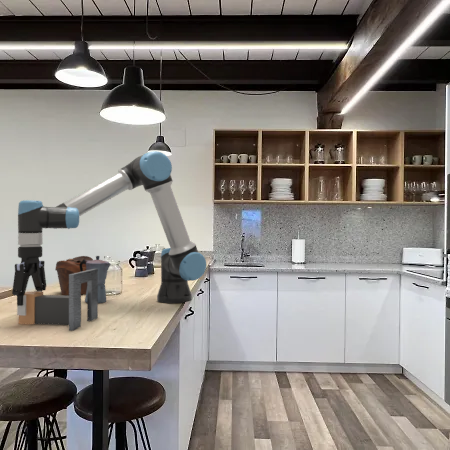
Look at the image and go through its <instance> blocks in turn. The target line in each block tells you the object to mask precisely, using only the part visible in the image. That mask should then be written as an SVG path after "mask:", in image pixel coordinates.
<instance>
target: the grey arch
mask: <svg viewBox="0 0 450 450" xmlns="http://www.w3.org/2000/svg"><path fill="white" fill-rule="evenodd" d="M85 282H87V302H86V306H87V308H86V309H87V310H86V311H87V312H86V313H87V316H86V317H87V319H86V321H87V322H93V321H95V320H97V319H98V318H99V316H98V313H99V310H98V306H99V305H98V304H99V303H98V269H91V270H86V271H82V272H78V273H73V274H69V295H68V296H69V325H68V331H71V332H72V331H76V330H78V329H80V328H82V295H81V283H85Z"/></svg>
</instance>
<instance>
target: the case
mask: <svg viewBox="0 0 450 450" xmlns="http://www.w3.org/2000/svg"><path fill="white" fill-rule="evenodd" d="M83 259H84V260H87V261H92V260H94V259H93V258H92V257H90V256H88V255H81V256H76V257H73V258H68V259H66V260H65V259H64V260H58V261H57V262H56V264H55V271H56V274H57V279H58V284H59V288H60V289H59V290H60V293H61V295H66V296H69V274H73V273H78V272H81V271H80V263H81V262H82V261H83ZM82 267H83V271H86V270H87V269H86V265H85V264H82ZM86 291H87V282H85V283H81V296H82V295H86Z"/></svg>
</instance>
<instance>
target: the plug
mask: <svg viewBox="0 0 450 450" xmlns="http://www.w3.org/2000/svg"><path fill="white" fill-rule="evenodd" d="M25 295H26V315H25V316H24V315H18V325H50V326H53V325H56V326H69V295H62V294H61V295H58V294H57V295H56V294H50V295H49V294H44V291H42V292H34V291H25Z"/></svg>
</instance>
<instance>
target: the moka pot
mask: <svg viewBox="0 0 450 450" xmlns="http://www.w3.org/2000/svg"><path fill="white" fill-rule="evenodd" d="M82 264H85V265H86V269H87V270H91V269H98V304H103V303H106V302H107V293H106V292H107V291H106V290H107V289H106V280H107V275H108V270H109V268H110V266H112V264H111V262H109V261H107V260H103V259H100V255H96V256H95V259H93V260H92V261H87V260H84V259H83V261H82V262H81V263H80V271H81V272H82V271H83V267H82ZM84 302H85V303H87V291H86V294H85V297H84Z"/></svg>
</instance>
